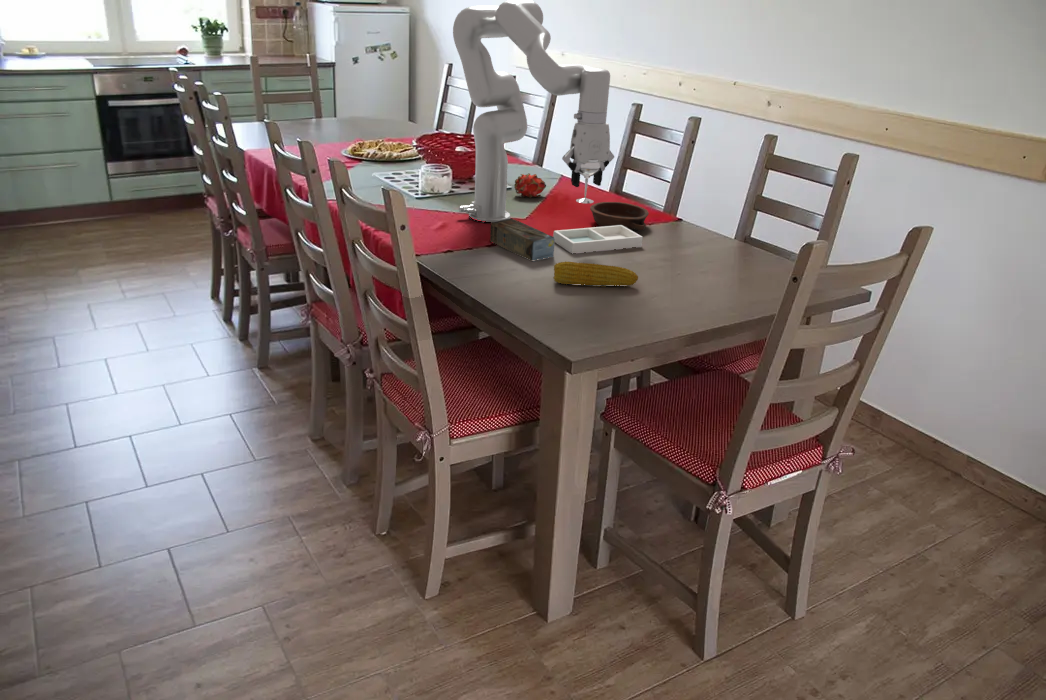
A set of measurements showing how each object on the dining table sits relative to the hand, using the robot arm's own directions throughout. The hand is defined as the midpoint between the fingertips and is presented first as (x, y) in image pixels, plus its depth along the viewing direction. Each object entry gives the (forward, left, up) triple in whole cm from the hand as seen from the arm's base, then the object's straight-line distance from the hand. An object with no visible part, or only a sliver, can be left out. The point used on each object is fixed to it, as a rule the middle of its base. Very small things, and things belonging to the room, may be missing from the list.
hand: (586, 184), depth 226 cm
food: (-12, -28, -18) cm, 36 cm away
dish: (+21, +16, -18) cm, 32 cm away
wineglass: (0, 0, -5) cm, 5 cm away
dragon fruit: (+8, +52, -18) cm, 55 cm away
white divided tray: (+5, 0, -17) cm, 18 cm away
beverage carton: (-18, +1, -18) cm, 25 cm away
